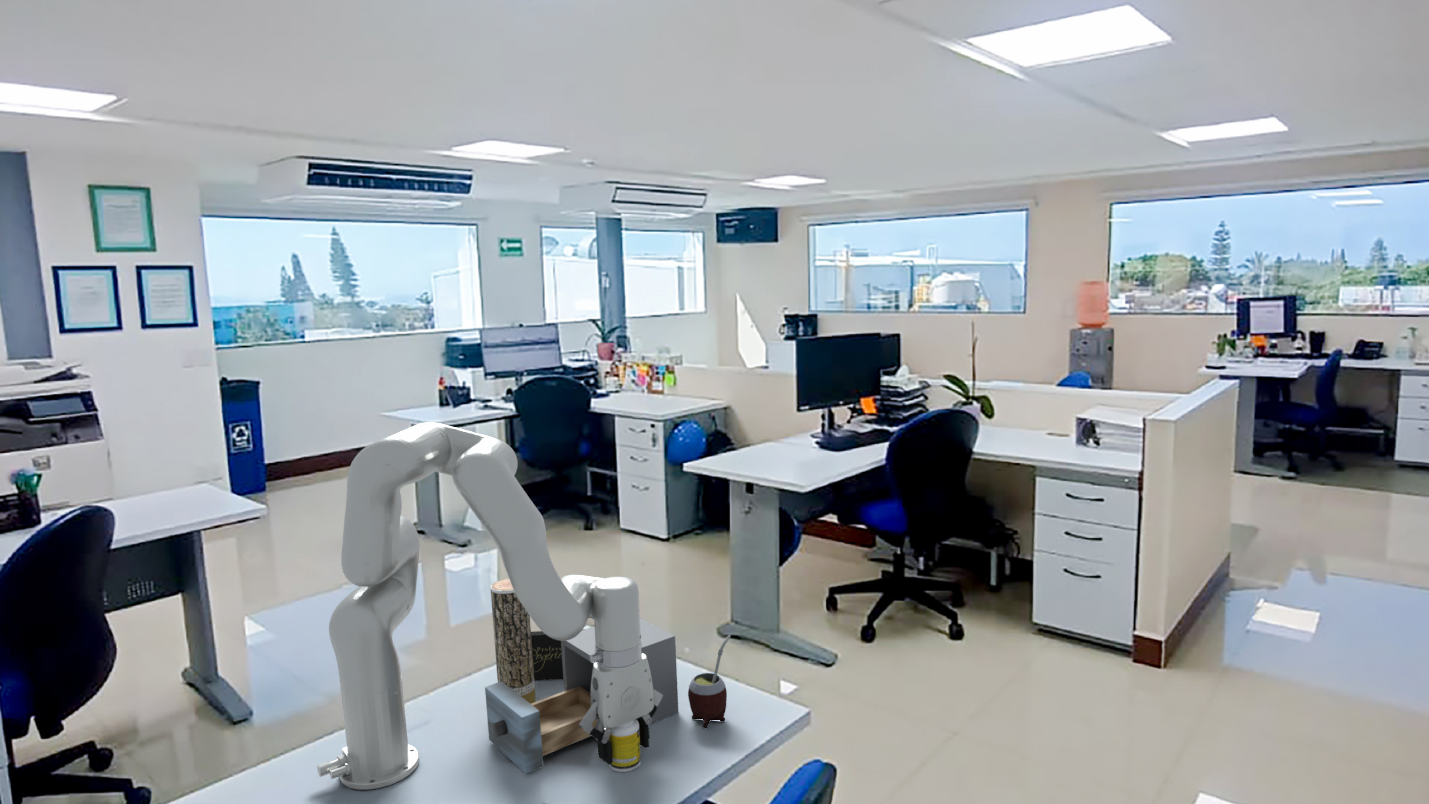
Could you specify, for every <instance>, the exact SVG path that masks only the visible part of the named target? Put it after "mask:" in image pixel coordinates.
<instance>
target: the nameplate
mask: <svg viewBox="0 0 1429 804" xmlns="http://www.w3.org/2000/svg"><path fill="white" fill-rule="evenodd" d="M584 629H585V628H583V630H584ZM531 641H532V655H533V669H534V682H540V681H541V682H542V681H559V680H560V681H562V680H563V665H562V649H561V641H560V640H555V639H553V638H550V637H549V636H547V635H546V634H545V633H544V632H542V631H541V630H540V631H539V630H538V631H531ZM563 681H564V680H563Z"/></svg>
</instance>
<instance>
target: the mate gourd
mask: <svg viewBox="0 0 1429 804" xmlns="http://www.w3.org/2000/svg"><path fill="white" fill-rule="evenodd" d="M731 636H732V635H731V634H730V633H729V634H728V635H727V637H726V638H725V640H724V641H723V642H722V644H721V645H720V648H719V649H718V651H717V659H716V663H715V664H716V665H715V668H714V673H713V672H703V673H699V674H696V675H695V676H694V677H693V678H692V680H691V682H690V683H689V685H688V691H687V693H688V694H687V697H688V702H689V706H690V711H691V713H692V716H691V720H692V719H703V720H704V721H703V724H702V728H703V727H704V728H703V729H705V728H706V729H708V727H709V725H710V723H709V721H710V720H720V721H726V717H725V715H726V709H727V698H728V695H727V692H728V691H727V687H726V684H725V681H724V680H723V679H722V677H721V676H720V675H718V673H719V667H720V664H721V663H720V662H721V658H722V656H723V652H724V648H725V646H726V644H727V643H728V641H730V640H729V639H730V638H731ZM708 724H709V725H708ZM707 726H708V727H707Z"/></svg>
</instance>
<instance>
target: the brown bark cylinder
mask: <svg viewBox="0 0 1429 804" xmlns="http://www.w3.org/2000/svg"><path fill="white" fill-rule="evenodd" d="M490 599H491V600H490V601H491V610H492V611H491V612H492V613H491V614H492V625H493V626H492V627H493V637H494V638H493V639H494V650H495V652H494V653H495V663H496V676H497V678H496V680H497V683H498V682H501V681H502V682H503V683H505V684H506V685H507V686H509V687H510V688H511V689H512V690H514V691H515V692H516V693H517V694H519V695H520V696H521V697H522V698H524V699H525V700H526V701H528V702H529V703H530V704H531V703H534V702H537V700H536V688H535V687H536V685H535V681H534V669H533V655H532V641H531V632H532V630H531V629H532V627H531V617H530V615H529V614H528V613H527V611H526V610H525V608H524V607H523V605H522V604H521V602H520V601H519V599H518V597H517V595H516V593H515V591H514V589H513V587H512V585H511V582H510V579H509V578H505V579H500V580H497V581H495V582H493V583H492V584H490Z"/></svg>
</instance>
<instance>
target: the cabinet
mask: <svg viewBox="0 0 1429 804" xmlns="http://www.w3.org/2000/svg"><path fill="white" fill-rule="evenodd" d="M583 629H584V630H582V631H581V632H580V633H579V634H578V635H577V636H576V637H574V638H572V639H570V640H566V641H561V649H562V665H563V692H564V691H566V690H569V689H572V688H575V687H577V686H580V687H582V688H583V689H585V690H586V691H588V692H589V693H591V679H592V671H593V665H594V663H591V661H590V655H592V654H594V653H595V647H596V642H595V626H591V627H588V628H583ZM640 630H641V648H642V653H643V654H645V655H646V657H647V661H648V664H649V668H650V672H651V677H652V684H653V689H654V690H656V691H657V692H659V693H661V694H662V695H663V697H662V699H661V701H660V703H659V705H658V706H657V710H656V712H655V713H654V715H653V716H652V718H651V719H652V722H651V724H650V725H653V724H655V723H657V722H660V721H662V720H664V719H666V718H669V717H672V716H674V715H676V714H678V713H679V696H678V695H679V693H678V691H679V690H678V675H677V674H678V672H677V671H678V670H677V669H678V667H677V651H676V650H677V649H676V648H677V647H676V646H677V645H676V635H674V634H672V633H670V632H668V631H666V630H664V629H663V628H660V627H659V626H656V625H655V624H653V623H651V622H649V621H647V620H645V619H643V618H641V617H640ZM595 663H596V662H595ZM673 714H674V715H673ZM637 719H638V718H637ZM603 729H604V727H603ZM602 733H603V730H602Z"/></svg>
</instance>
